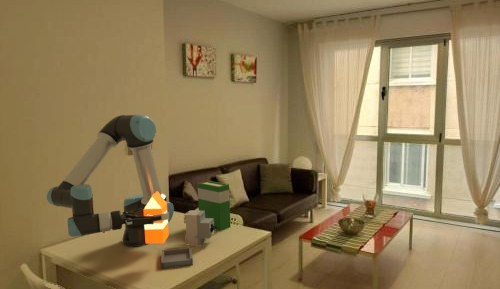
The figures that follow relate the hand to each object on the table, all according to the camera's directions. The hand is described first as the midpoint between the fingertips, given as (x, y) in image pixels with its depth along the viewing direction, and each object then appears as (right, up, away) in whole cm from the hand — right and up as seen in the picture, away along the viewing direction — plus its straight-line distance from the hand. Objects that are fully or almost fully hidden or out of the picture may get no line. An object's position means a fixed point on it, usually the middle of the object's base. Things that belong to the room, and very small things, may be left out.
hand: (166, 212), depth 156 cm
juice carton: (-4, -12, -1) cm, 12 cm away
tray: (+4, -22, +4) cm, 22 cm away
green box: (+16, -17, +49) cm, 54 cm away
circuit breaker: (+12, -19, +24) cm, 33 cm away
